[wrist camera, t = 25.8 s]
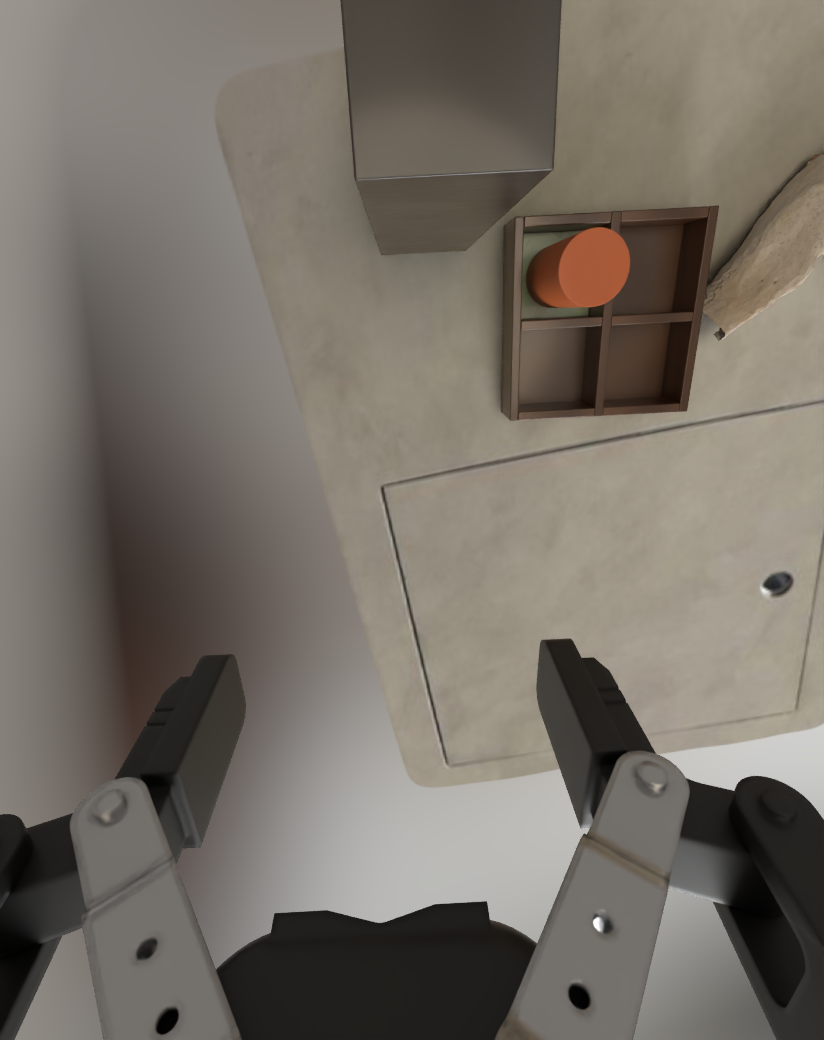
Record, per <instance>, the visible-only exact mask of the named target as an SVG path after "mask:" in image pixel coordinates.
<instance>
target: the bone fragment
mask: <svg viewBox="0 0 824 1040" xmlns="http://www.w3.org/2000/svg"><path fill="white" fill-rule="evenodd" d="M820 255H824V154H822V155H814V156H813V157H812V159H811V160H809V161H808V162H807V164H806V165H805V166H804V168H803V169H802V170H801V171H800V172H799V173H798V174H796V175H795V177H794V178H793V179H792V180H791V181H790V182H789V183H788V184H787V185H786V186H785V187H784V189H783V190H782V192H781V193H780V194H779V195H778V196H777V197H776V198H775V199H774V200H773V201H772V203H771V205H770V206H769V207H768V208H767V210H766V211H765V212H764V214H763V215H762V216H761V217H760V218H759V219H758V220H757V222H756V223H755V224H754V226H753V228H752V230H751V232H750V233H749V235H748V237H747V238H746V239H745V240H744V241H743V244H742V245H741V247H740V248H739V249H738V250H737V252H736V253H735V254H734V255H733V256H732V258H731V259H730V261H729V262H727V263H726V264H725V265H724V267H723V268H722V269H721V270H720V271H719V273H718V274H717V276H716V277H715V278H714V280H713V281H712V282H711V283H710V284H709V285H708V286H707V288H706V292H705V299H704V305H703V313H704V314H705V315H707V316H708V317H709V318H711V319H712V320H713V321H714V322H715V323H716V324H717V325H718V326H719V327H720V329H719V330H720V331H718V332H716V333H715V334H714V335H715V336H716V338H717V339H718V341H719V340H722V339H724V338H725V337H727V335H728V334H729V333H731V332H732V331H733V330H735V329H736V328H738V327H739V326H740V325H742V324H744V323H745V322H747V321H748V320H749V319H750V318H752V317H753V316H755V315H756V314H758V313H760V312H762V311H764V310H765V309H767V308H768V307H769V306H770V305H771V304H772V303H773V302H774V301H776V300H777V299H779V298H780V297H782V296H784V295H786V294H787V293H789V292H791V291H793V290H794V289H796V288H797V287H798V286H799V285H801V284H802V283H803V282H804V281H805V280H806V278H807V276H808V275H809V274H810V272H811V271H812V269H813V267H814V265H815V263H816V261H817V259H818V257H819V256H820Z"/></svg>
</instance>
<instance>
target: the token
mask: <svg viewBox="0 0 824 1040" xmlns="http://www.w3.org/2000/svg"><path fill="white" fill-rule="evenodd" d="M629 269H630V255H629V250H628V247H627V245H626V243H625V241H624V240H623V238H622V237H621V236H620V235H619V234H617V233H616V232H615V231H613V230H611V229H608V228H604V227H594V228H590V229H587V230H584V231H582V232H580V233H577V234H575V235H573V236H571V237H568V238H566V239H564V240H561V241H559V242H557V243H555V244H552V245H550V246H548V247H545V248H544V249H542V250H540V251H539V252H538V253H537V254H536V255H535V256H534V257H533V259H532V260H531V262H530V264H529V266H528V269H527V273H526V286H527V290H528V292H529V294H530V296H531V298H532V299H533V300H534V301H535V302H536V303H538V304H539V305H541V306H544V307H548V308H569V307H596V306H599V305H602V304H605V303H606V302H608V301H610V300H611V299H612V298H614V297H615V296H616V295H617V294H618V293H619V291H620V290H621V289H622V287H623V286H624V284H625V282H626V279H627V277H628V273H629Z"/></svg>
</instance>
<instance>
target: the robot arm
mask: <svg viewBox="0 0 824 1040" xmlns="http://www.w3.org/2000/svg"><path fill="white" fill-rule="evenodd" d="M537 700H538V705H539V709H540V712H541V715H542V718H543V721H544V724H545V727H546V730H547V732H548V735H549V738H550V741H551V744H552V747H553V750H554V753H555V756H556V759H557V761H558V764H559V767H560V770H561V773H562V776H563V779H564V781H565V785H566V788H567V790H568V793H569V796H570V799H571V802H572V805H573V808H574V811H575V814H576V817H577V819H578V822H579V825H580V828H590V829H589V832H588V833H587V835H586V834H583V836H582V838H581V839H580V842H579V844H578V846H577V848H576V851H575V853H574V856H573V858H572V861H571V863H570V865H569V868H568V870H567V873H566V875H565V878H564V880H563V882H562V885H561V887H560V890H559V892H558V895H557V897H556V899H555V902H554V904H553V907H552V909H551V912H550V914H549V916H548V919H547V922H546V924H545V926H544V929H543V931H542V934H541V936H540V939H539V941H538V943H536V942H534V941H533V940H531V939H530V938H529V937H527V936H526V935H524V934H523V933H521V932H519V931H517V930H516V929H514V928H512V927H509V926H507V925H505V924H502V923H500V922H496V921H492V920H490V919H489V912H488V905H487V902H470V903H469V902H468V903H452V904H435V905H432V906H429V907H426V908H423V909H421V910H418V911H415V912H413V913H410V914H407V915H404V916H401V917H398V918H396V919H393V920H390V921H387V922H384V923H375V922H371V921H367V920H363V919H359V918H355V917H351V916H347V915H343V914H339V913H335V912H331V911H327V910H326V911H308V912H291V913H275V914H274V919H273V924H272V930H271V933H270V934H267V935H265V936H262V937H260V938H258V939H256V940H254V941H252V942H250V943H249V944H247V945H246V946H244V947H243V948H241V949H240V950H238V951H237V952H236V953H234V954H233V955H232V956H231V957H229V958H228V959H227V960H226V961H224V962H223V963H222V964H221V965H220V966H219V967H218V968H217V969H215V966H214V964H213V961H212V958H211V956H210V953H209V950H208V948H207V945H206V943H205V940H204V937H203V934H202V932H201V929H200V927H199V924H198V921H197V918H196V916H195V913H194V911H193V908H192V905H191V902H190V900H189V897H188V895H187V892H186V889H185V886H184V884H183V881H182V879H181V876H180V873H179V871H178V868H177V865H176V864H177V862H178V859H179V856H180V854H181V851H182V848H199V847H201V845H202V842H203V839H204V836H205V833H206V830H207V827H208V825H209V822H210V819H211V816H212V813H213V810H214V807H215V804H216V801H217V799H218V796H219V793H220V790H221V787H222V784H223V781H224V779H225V775H226V773H227V770H228V767H229V764H230V761H231V758H232V755H233V752H234V750H235V747H236V744H237V741H238V738H239V735H240V732H241V730H242V727H243V723H244V718H245V710H246V703H245V696H244V692H243V688H242V683H241V679H240V674H239V670H238V665H237V661H236V658H235V656H234V655H232V654H228V655H208V656H203V657H201V659H200V660H199V662H198V664H197V666H196V668H195V670H194V672H193V674H192V676H191V677H180V678H179V679H178V680H177V681H176V682H175V683H174V684H173V685H172V686H171V687H169V688H168V689H167V690H166V691H165V692H164V694H163V695H162V697H161V699H160V701H159V702H158V704H157V706H156V708H155V712H153V713H152V715H151V716H150V718H149V720H148V722H147V726H146V727H144V729H143V731H142V732H141V734H140V736H139V738H138V739H137V741H136V743H135V745H134V746H133V748H132V750H131V752H130V753H129V755H128V757H127V759H126V760H125V762H124V764H123V766H122V767H121V769H120V771H119V773H118V774H117V776H116V778H115V779H114V780H112V781H110V782H107V783H105V784H103V785H101V786H100V787H98V788H96V789H95V790H94V791H92V792H91V793H90V794H88V795H87V796H86V797H85V798H84V799H83V800H82V801H81V802H80V804H79V805H78V806H77V808H76V809H75V811H74V813H72V814H69V815H66V816H63V817H60V818H57V819H55V820H51V821H48V822H45V823H42V824H39V825H36V826H33V827H30V828H26V827H25V826H24V824H23V822H22V820H21V819H20V818H19V817H17V816H15V815H11V814H3V815H0V1040H14V1039H15V1037H16V1035H17V1033H18V1031H19V1028H20V1026H21V1024H22V1022H23V1020H24V1018H25V1015H26V1013H27V1011H28V1009H29V1007H30V1005H31V1002H32V1000H33V998H34V996H35V994H36V992H37V990H38V987H39V985H40V983H41V981H42V979H43V977H44V974H45V972H46V970H47V968H48V966H49V964H50V961H51V959H52V957H53V954H54V953H55V951H56V948H57V946H58V944H59V942H60V940H61V937H62V935H65V934H67V933H70V932H73V931H75V930H78V929H80V928H83V933H84V938H85V943H86V949H87V954H88V959H89V965H90V970H91V975H92V980H93V986H94V991H95V997H96V1002H97V1007H98V1012H99V1018H100V1023H101V1029H102V1034H103V1039H104V1040H633V1037H634V1032H635V1029H636V1024H637V1020H638V1016H639V1012H640V1007H641V1003H642V999H643V994H644V990H645V986H646V981H647V977H648V973H649V969H650V965H651V960H652V956H653V952H654V948H655V943H656V939H657V935H658V930H659V926H660V922H661V918H662V914H663V909H664V905H665V901H666V897H667V892H668V889H672V890H675V891H679V892H682V893H685V894H689V895H692V896H696V897H700V898H703V899H706V900H710V901H713V903H714V905H715V907H716V910H717V912H718V914H719V916H720V918H721V920H722V922H723V925H724V927H725V929H726V931H727V933H728V936H729V938H730V940H731V942H732V944H733V946H734V948H735V951H736V953H737V955H738V957H739V959H740V961H741V964H742V966H743V968H744V970H745V972H746V974H747V977H748V979H749V981H750V983H751V985H752V987H753V990H754V991H755V994H756V996H757V998H758V1000H759V1002H760V1004H761V1007H762V1009H763V1011H764V1013H765V1015H766V1018H767V1020H768V1022H769V1024H770V1026H771V1028H772V1030H773V1033H774V1035H775V1037H776V1039H777V1040H824V820H823V818H822V817H821V815H820V814H819V813H818V811H817V810H816V809H815V808H814V806H813V805H812V804H811V803H810V802H809V801H808V800H807V799H806V798H805V797H804V796H803V795H802V794H800V793H799V792H798V791H796V790H795V789H793V788H791V787H790V786H788V785H786V784H784V783H782V782H780V781H777V780H775V779H771V778H768V777H762V776H751V777H747V778H744V779H742V780H741V781H740V782H739V783H738V784H737V786H736V788H735V791H732V790H727V789H723V788H718V787H714V786H710V785H705V784H701V783H698V782H694V781H691V780H689V779H687V778H685V776H684V775H683V773H682V772H681V771H680V770H679V769H678V768H677V767H676V766H675V765H674V764H673V763H672V762H670V761H669V760H667V759H665V758H664V757H662V756H660V755H657V754H656V753H655V751H654V749H653V748H652V746H651V744H650V742H649V741H648V739H647V737H646V735H645V733H644V732H643V730H642V728H641V726H640V725H639V723H638V721H637V719H636V717H635V716H634V714H633V712H632V710H631V708H630V707H629V705H628V703H626V700H625V698H624V696H623V694H622V692H621V691H620V690H619V689H618V685H617V684H616V682H615V680H614V678H613V676H612V675H611V673H610V671H609V670H608V669H607V668H605V667H604V666H603V665H602V664H601V663H599V662H598V661H597V660H596V659H595V658H581V656H580V654H579V652H578V650H577V648H576V646H575V644H574V642H573V641H572V640H571V639H551V640H542V641H541V643H540V650H539V662H538V674H537Z"/></svg>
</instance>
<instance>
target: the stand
mask: <svg viewBox="0 0 824 1040" xmlns="http://www.w3.org/2000/svg"><path fill="white" fill-rule="evenodd" d="M561 3H562V0H341V12H342V25H343V37H344V51H345V63H346V76H347V89H348V101H349V114H350V126H351V139H352V152H353V164H354V177H355V181H356V184H357V187H358V190H359V192H360V195H361V198H362V201H363V204H364V207H365V210H366V212H367V215H368V218H369V221H370V224H371V227H372V229H373V232H374V235H375V238H376V241H377V244H378V246H379V249H380V252H381V255H391V254H409V253H428V252H446V251H464V250H467V249H468V248H469V247H470V246H471V245H472V244H473V243H475V242H476V241H477V240H478V239H479V238H480V237H481V236H482V235H483V234H484V233H485V232H486V231H487V230H489V229H490V228H491V227H492V226H493V225H494V224H495V223H496V222H497V221H498V220H499V219H500V218H502V217H503V216H504V215H505V214H506V213H507V212H508V211H509V210H510V209H511V208H512V207H513V206H514V205H516V204H517V203H518V202H519V201H520V200H521V199H522V198H523V197H524V196H525V195H526V194H527V193H528V192H530V191H531V190H532V189H533V188H534V187H535V186H536V185H537V184H538V183H539V182H540V181H541V180H542V179H544V178H545V177H546V176H547V175H548V174H549V173H550V172H551V171H552V170H553V168H554V150H555V129H556V108H557V87H558V66H559V45H560V24H561Z"/></svg>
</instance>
